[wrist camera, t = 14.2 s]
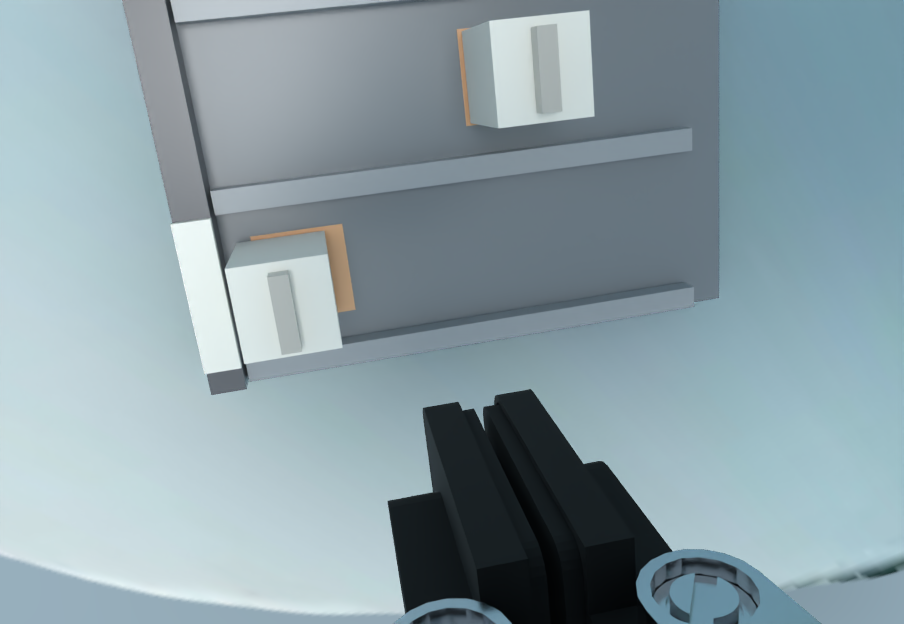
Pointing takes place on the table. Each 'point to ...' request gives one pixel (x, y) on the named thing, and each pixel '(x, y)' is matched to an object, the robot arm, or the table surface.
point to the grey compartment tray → (431, 168)
